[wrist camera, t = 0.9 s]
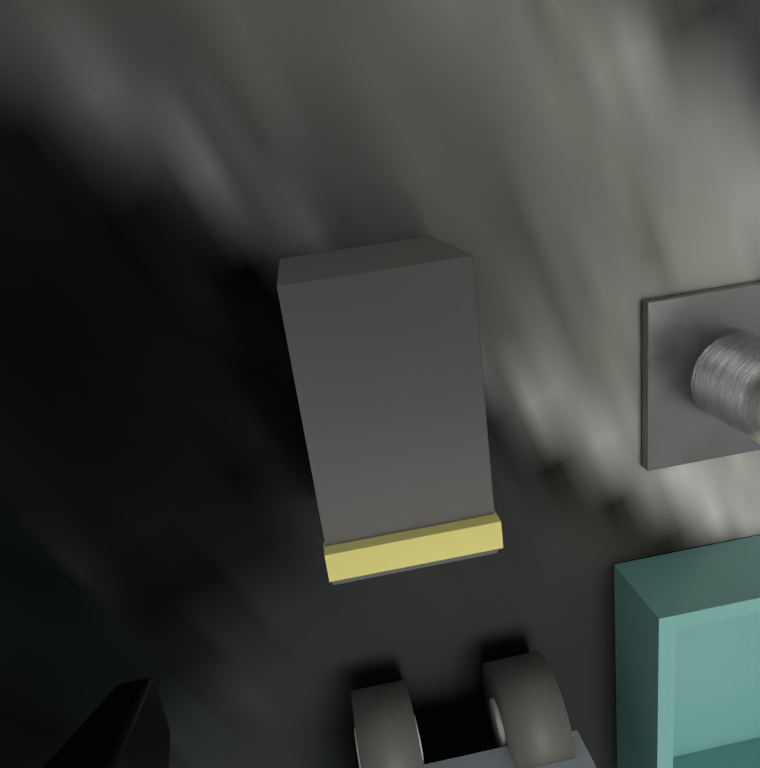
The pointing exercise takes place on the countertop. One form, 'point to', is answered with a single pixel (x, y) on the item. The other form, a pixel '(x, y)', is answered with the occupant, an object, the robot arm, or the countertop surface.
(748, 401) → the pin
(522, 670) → the trolley
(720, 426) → the pin plate
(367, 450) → the block
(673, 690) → the tray
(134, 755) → the robot arm
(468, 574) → the countertop surface
